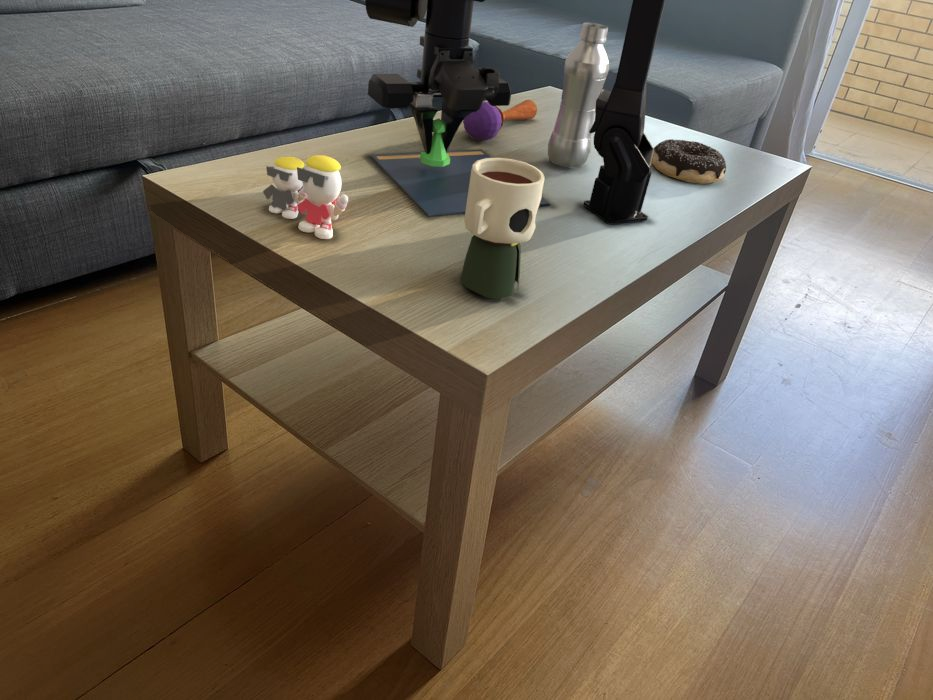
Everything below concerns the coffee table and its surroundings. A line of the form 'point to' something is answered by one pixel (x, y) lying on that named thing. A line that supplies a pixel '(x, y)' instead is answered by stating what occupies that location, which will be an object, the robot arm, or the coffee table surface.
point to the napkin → (434, 179)
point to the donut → (689, 161)
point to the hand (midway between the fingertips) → (434, 152)
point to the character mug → (499, 223)
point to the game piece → (436, 147)
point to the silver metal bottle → (579, 98)
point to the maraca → (495, 119)
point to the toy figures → (307, 192)
